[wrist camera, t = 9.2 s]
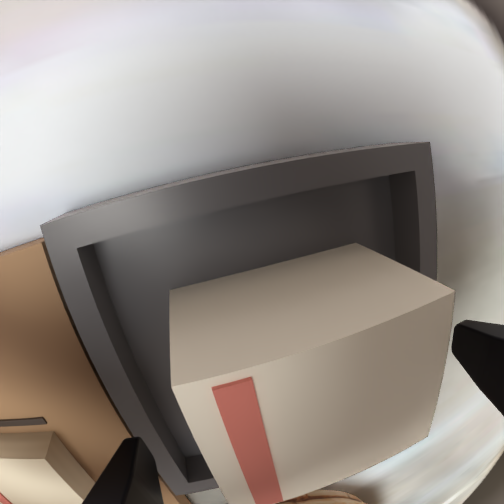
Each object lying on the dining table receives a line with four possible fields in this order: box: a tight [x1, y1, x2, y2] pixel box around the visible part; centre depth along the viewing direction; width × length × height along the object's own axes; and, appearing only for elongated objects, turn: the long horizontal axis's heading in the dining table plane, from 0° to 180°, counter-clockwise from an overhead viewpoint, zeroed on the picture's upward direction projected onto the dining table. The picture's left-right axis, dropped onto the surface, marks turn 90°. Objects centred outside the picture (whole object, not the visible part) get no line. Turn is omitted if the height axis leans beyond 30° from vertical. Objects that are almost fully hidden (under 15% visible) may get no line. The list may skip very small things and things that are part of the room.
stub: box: [169, 243, 455, 504], centre depth 8 cm, size 5×6×5 cm
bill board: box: [0, 237, 191, 504], centre depth 9 cm, size 18×12×4 cm, turn 11°
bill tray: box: [40, 142, 437, 496], centre depth 10 cm, size 11×11×2 cm
